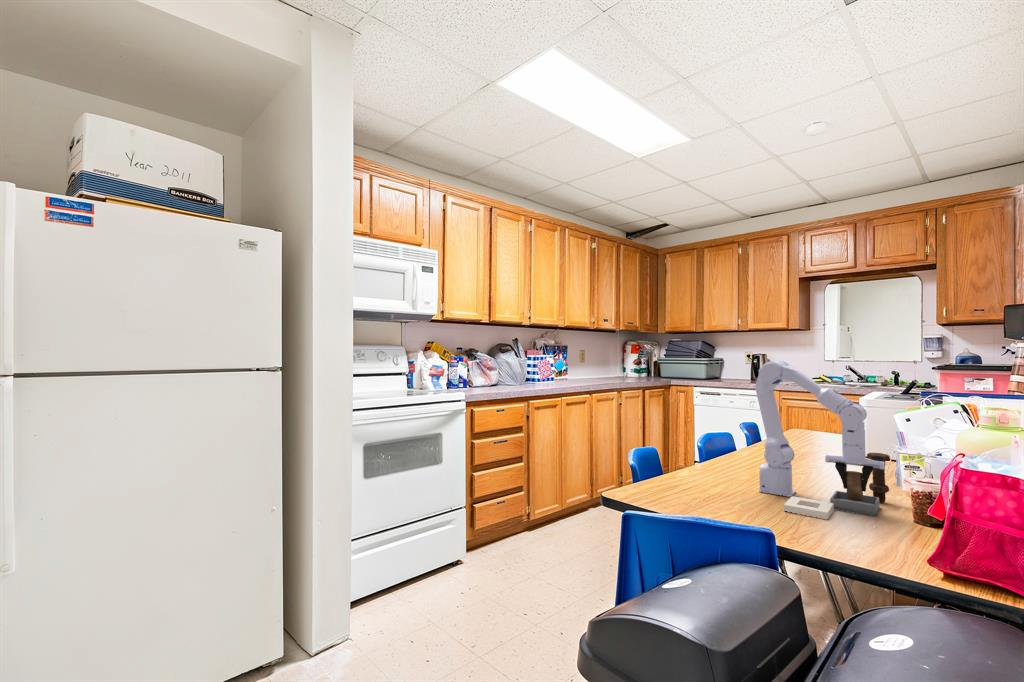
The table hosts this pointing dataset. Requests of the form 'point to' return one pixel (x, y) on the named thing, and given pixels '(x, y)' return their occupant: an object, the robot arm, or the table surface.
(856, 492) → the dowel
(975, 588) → the table surface
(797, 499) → the socket block
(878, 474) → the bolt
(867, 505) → the tray
